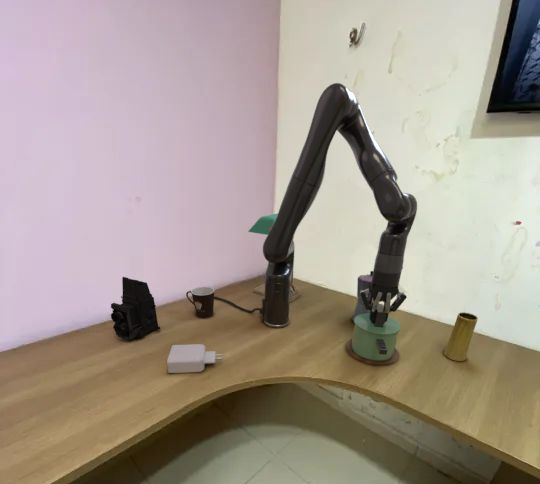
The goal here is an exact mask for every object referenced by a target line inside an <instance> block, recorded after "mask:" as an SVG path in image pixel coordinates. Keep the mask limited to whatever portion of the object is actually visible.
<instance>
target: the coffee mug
mask: <svg viewBox="0 0 540 484" xmlns="http://www.w3.org/2000/svg"><path fill="white" fill-rule="evenodd" d="M189 294H191V297H192V300H191V298H190V296H189ZM185 296H186V298H187V300H188V301H189V302H190V303H191V304H192V305H193V306H194V310H195V315H196V317H197V318H199V319H209V318H211V317H213V316H214V306H215V305H214V304H215V298H214V296H215V289H214V288H213V287H209V286H201V287H195V288H193V289H192V290H188V291H187V292H186V294H185Z"/></svg>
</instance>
